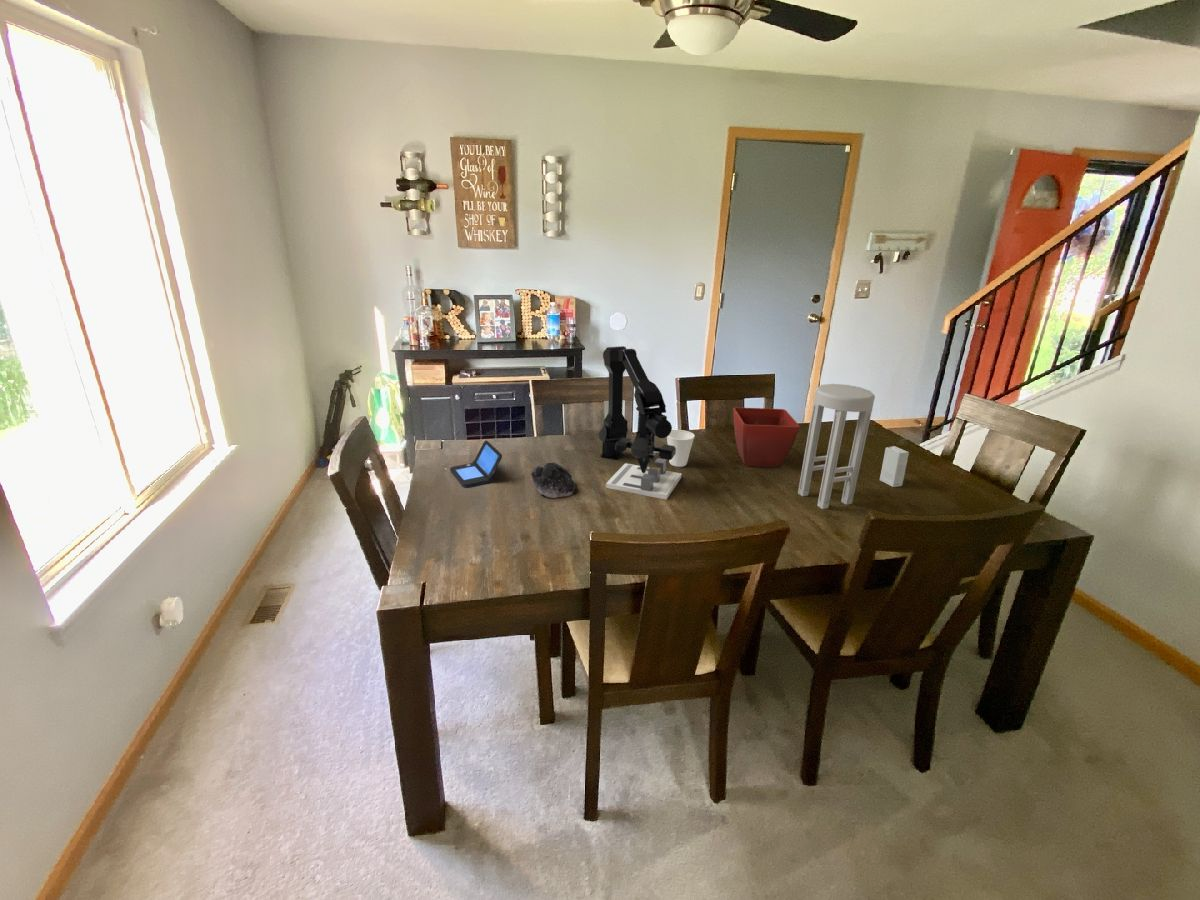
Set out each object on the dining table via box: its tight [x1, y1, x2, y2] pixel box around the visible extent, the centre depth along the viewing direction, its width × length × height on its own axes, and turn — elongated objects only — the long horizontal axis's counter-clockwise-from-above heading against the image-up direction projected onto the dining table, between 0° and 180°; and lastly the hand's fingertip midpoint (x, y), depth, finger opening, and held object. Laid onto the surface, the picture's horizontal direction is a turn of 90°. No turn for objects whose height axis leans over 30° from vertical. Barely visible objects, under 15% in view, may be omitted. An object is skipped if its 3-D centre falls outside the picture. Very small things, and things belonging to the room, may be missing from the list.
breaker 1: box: [641, 474, 654, 491], centre depth 177 cm, size 3×4×4 cm
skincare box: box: [879, 445, 910, 488], centre depth 188 cm, size 6×4×12 cm
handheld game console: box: [449, 440, 503, 488], centre depth 186 cm, size 16×13×9 cm
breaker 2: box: [653, 457, 667, 475], centre depth 189 cm, size 3×4×4 cm
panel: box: [605, 463, 682, 500], centre depth 185 cm, size 20×18×2 cm
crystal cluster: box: [530, 462, 576, 499], centre depth 178 cm, size 13×14×10 cm
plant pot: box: [733, 406, 801, 468], centre depth 202 cm, size 19×19×17 cm
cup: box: [666, 429, 696, 468], centre depth 199 cm, size 10×10×11 cm
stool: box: [797, 383, 876, 510], centre depth 171 cm, size 16×16×35 cm
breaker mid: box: [648, 465, 661, 483], centre depth 183 cm, size 3×4×4 cm
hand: (643, 472), depth 184 cm, fingers closed
